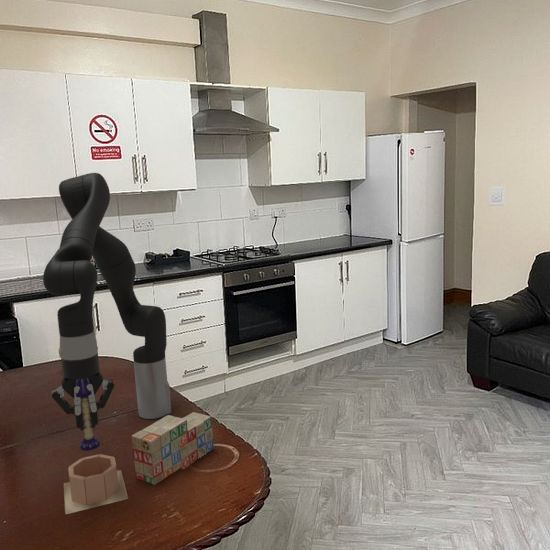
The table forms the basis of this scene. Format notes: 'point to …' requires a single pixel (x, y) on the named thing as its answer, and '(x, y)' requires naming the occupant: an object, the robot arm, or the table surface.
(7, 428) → the table surface
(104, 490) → the beige octagonal hollow piece
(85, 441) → the toy lamp
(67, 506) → the birch board
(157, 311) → the robot arm
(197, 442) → the stack of blocks
